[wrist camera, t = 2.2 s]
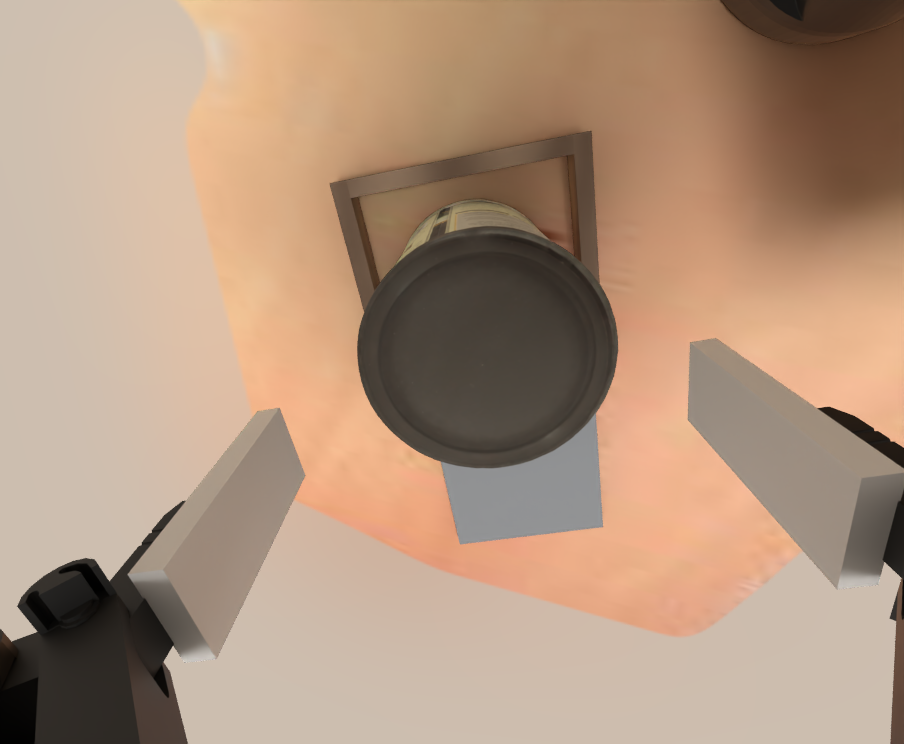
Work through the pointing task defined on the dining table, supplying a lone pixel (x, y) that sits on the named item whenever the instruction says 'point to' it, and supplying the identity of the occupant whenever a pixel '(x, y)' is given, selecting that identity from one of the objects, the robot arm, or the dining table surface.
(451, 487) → the mat
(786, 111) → the dining table surface
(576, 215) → the square picture frame
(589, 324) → the coffee can
